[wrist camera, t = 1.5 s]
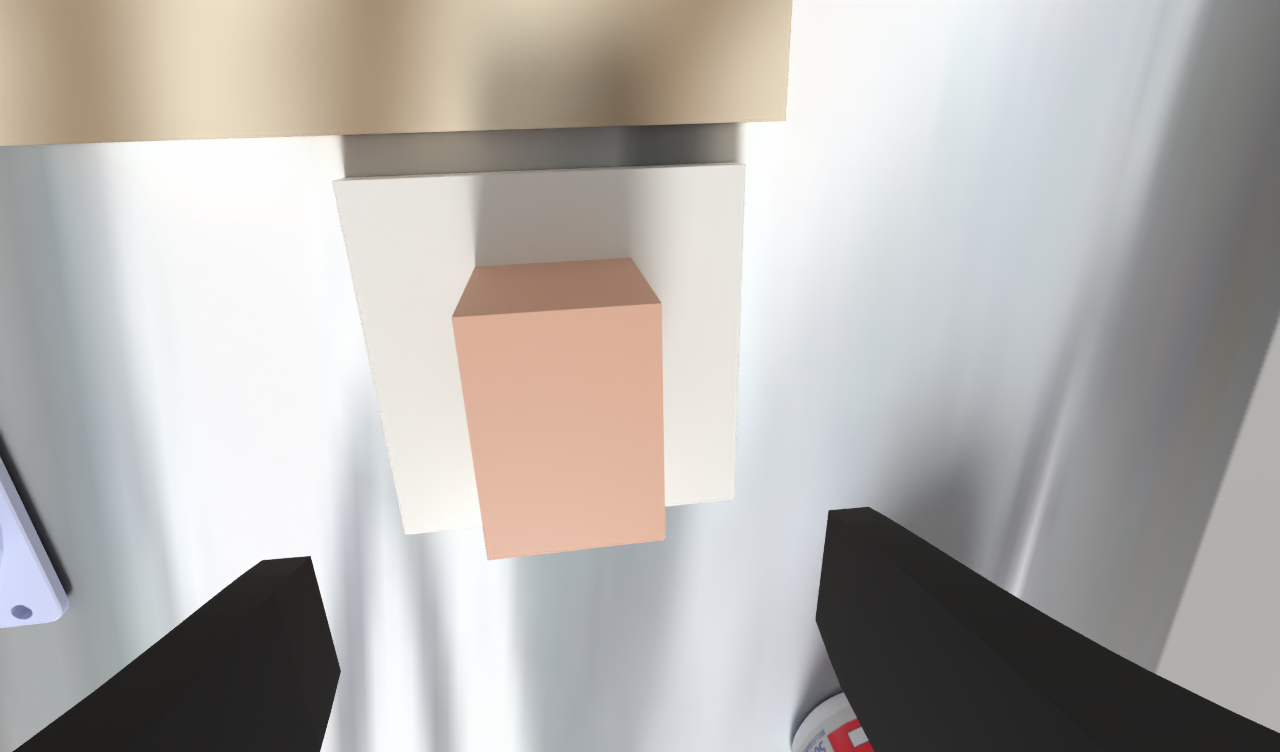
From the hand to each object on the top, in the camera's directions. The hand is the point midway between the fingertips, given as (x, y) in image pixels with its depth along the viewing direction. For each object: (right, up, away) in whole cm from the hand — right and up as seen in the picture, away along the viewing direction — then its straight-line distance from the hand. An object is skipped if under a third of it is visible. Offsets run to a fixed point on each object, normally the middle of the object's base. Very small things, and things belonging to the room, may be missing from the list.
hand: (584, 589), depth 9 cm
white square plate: (-1, +4, +9) cm, 10 cm away
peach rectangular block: (-1, +3, +8) cm, 9 cm away
